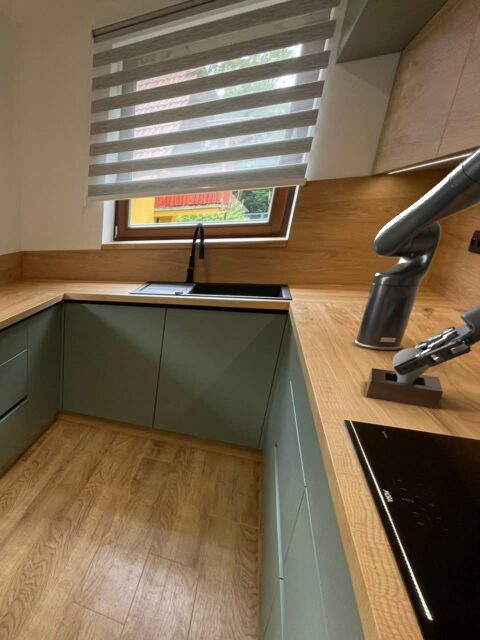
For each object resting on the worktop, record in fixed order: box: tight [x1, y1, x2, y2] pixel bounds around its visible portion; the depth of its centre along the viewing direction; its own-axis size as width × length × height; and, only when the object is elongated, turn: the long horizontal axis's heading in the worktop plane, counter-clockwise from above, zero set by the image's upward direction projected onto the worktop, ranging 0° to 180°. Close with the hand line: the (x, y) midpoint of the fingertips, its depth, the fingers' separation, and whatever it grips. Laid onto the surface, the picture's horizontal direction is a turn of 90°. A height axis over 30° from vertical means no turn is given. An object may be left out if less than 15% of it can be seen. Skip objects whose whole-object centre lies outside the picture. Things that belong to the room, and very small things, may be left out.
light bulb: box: [392, 347, 431, 384], centre depth 86 cm, size 6×6×10 cm
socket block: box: [365, 367, 444, 409], centre depth 88 cm, size 10×10×4 cm
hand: (397, 367), depth 87 cm, fingers closed on light bulb, 5 cm apart
